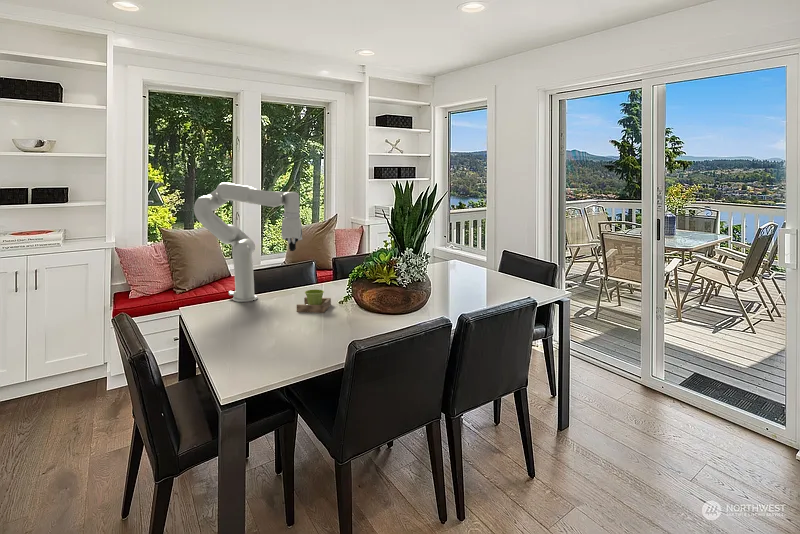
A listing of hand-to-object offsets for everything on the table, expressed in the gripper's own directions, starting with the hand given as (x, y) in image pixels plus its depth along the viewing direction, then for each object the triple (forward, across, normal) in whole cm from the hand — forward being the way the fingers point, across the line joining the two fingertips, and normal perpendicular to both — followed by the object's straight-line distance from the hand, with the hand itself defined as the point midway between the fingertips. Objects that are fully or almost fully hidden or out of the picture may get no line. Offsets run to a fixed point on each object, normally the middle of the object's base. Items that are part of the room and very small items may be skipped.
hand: (292, 250), depth 256 cm
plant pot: (+26, +17, -16) cm, 35 cm away
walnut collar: (+26, +16, -16) cm, 35 cm away
